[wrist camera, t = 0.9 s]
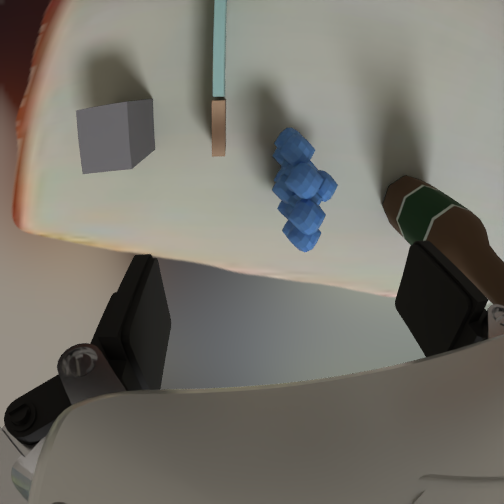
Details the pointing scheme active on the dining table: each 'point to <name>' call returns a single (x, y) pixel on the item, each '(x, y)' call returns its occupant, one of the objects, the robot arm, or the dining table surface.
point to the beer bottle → (446, 232)
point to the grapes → (300, 189)
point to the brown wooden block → (218, 127)
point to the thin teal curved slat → (219, 47)
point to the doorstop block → (115, 135)
